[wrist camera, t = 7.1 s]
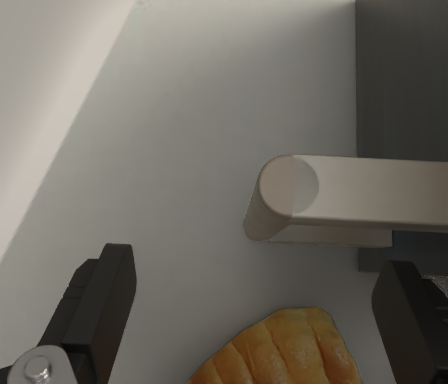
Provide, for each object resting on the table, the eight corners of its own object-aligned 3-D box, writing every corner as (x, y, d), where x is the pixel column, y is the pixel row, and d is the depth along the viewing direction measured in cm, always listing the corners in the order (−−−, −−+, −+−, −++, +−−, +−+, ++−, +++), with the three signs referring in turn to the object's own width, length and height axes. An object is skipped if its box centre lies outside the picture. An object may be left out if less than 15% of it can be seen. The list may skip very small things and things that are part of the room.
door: (239, 265, 22) (266, 268, 6) (251, -6, 25) (290, -482, 9) (376, 272, 22) (795, 297, 6) (370, -2, 25) (625, -480, 9)
